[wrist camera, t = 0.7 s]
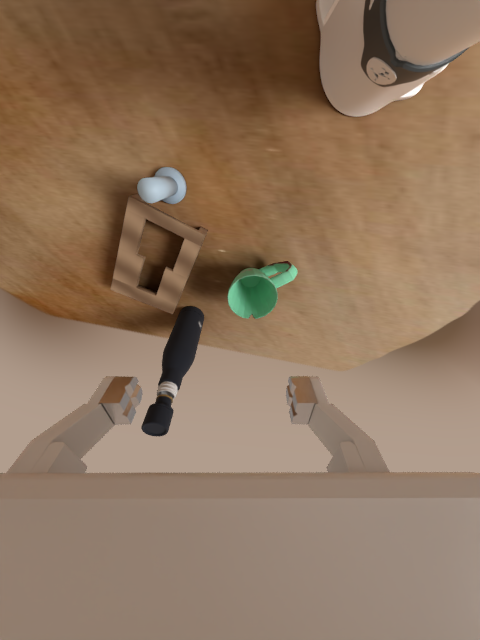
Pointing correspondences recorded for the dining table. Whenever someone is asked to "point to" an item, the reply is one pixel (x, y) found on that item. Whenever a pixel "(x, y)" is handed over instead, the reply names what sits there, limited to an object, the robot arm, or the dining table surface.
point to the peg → (163, 186)
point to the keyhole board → (133, 262)
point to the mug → (258, 289)
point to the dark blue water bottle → (174, 369)
